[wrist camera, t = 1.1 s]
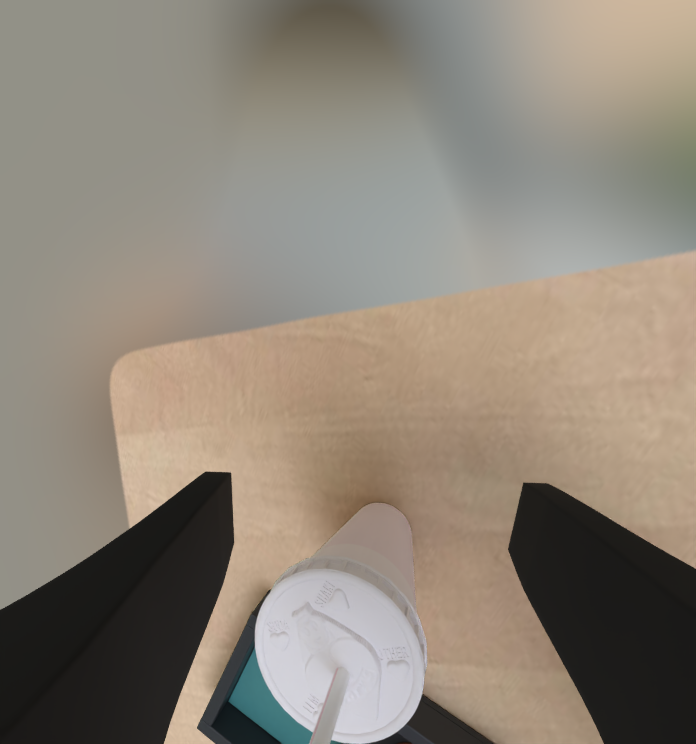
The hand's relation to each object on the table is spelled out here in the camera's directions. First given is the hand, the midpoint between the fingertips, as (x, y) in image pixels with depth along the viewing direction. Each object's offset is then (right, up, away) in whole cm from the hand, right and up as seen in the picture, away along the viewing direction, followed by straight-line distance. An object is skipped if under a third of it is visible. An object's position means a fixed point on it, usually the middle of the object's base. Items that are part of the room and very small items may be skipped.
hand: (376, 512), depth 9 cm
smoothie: (+1, -6, +13) cm, 15 cm away
